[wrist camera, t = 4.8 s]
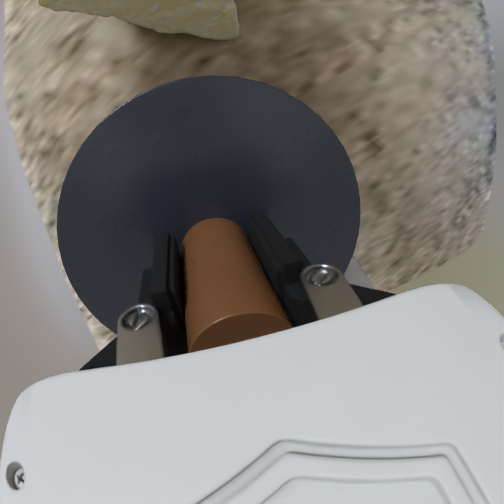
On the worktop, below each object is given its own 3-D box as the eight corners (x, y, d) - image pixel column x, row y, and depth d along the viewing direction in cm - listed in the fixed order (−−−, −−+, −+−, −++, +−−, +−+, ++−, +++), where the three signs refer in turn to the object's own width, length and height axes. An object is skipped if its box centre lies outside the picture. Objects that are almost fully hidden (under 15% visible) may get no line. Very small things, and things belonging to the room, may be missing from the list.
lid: (31, 131, 9) (-80, 173, 3) (344, 71, 11) (469, 69, 5) (126, 361, 16) (123, 462, 10) (341, 310, 18) (397, 392, 12)
